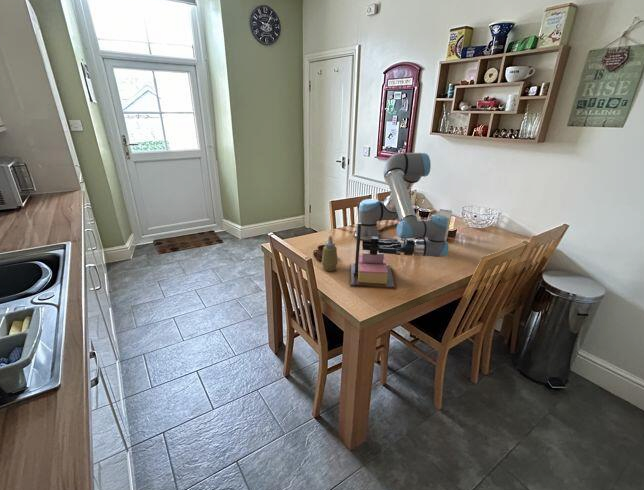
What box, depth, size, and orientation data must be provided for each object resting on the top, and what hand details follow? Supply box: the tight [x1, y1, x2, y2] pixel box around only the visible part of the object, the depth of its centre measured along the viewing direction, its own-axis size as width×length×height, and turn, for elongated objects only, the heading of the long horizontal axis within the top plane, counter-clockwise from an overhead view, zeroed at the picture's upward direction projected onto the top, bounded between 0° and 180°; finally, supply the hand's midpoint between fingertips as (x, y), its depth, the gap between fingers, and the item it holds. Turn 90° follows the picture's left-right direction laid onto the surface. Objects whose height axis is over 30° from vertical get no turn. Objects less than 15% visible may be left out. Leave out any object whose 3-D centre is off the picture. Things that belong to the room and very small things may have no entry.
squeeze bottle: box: [321, 235, 338, 272], centre depth 163 cm, size 8×8×18 cm
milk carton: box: [437, 208, 453, 241], centre depth 203 cm, size 7×7×19 cm
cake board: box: [350, 222, 396, 290], centre depth 155 cm, size 22×20×27 cm
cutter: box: [362, 237, 385, 265], centre depth 155 cm, size 4×10×15 cm, turn 85°
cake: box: [358, 254, 388, 284], centre depth 159 cm, size 17×13×6 cm
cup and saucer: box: [312, 244, 325, 261], centre depth 177 cm, size 12×12×6 cm
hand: (362, 245), depth 154 cm, fingers closed on cutter, 4 cm apart
